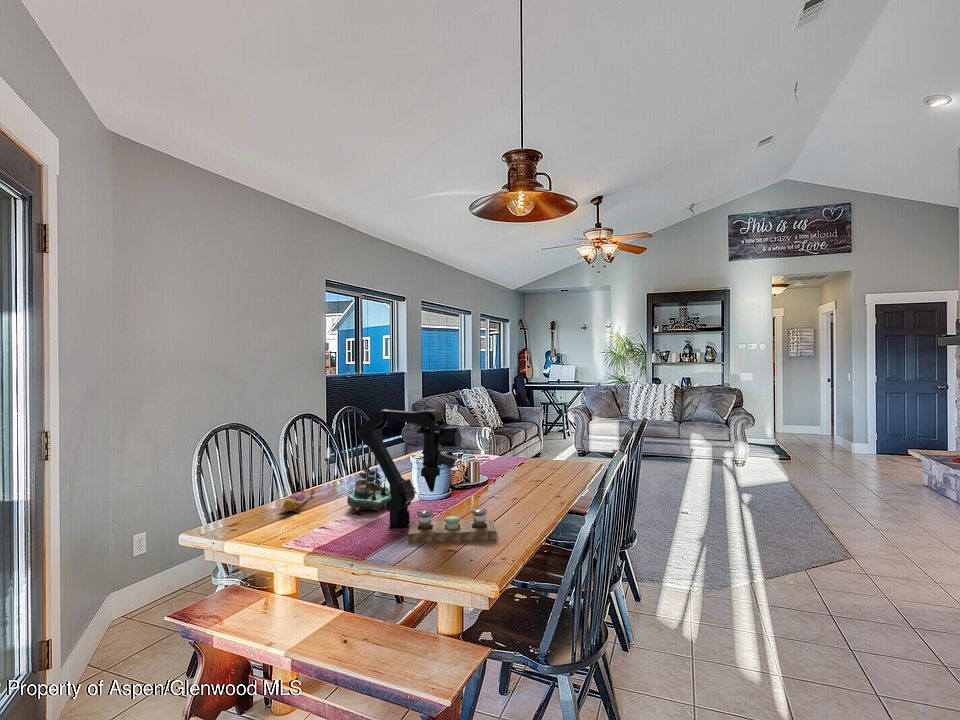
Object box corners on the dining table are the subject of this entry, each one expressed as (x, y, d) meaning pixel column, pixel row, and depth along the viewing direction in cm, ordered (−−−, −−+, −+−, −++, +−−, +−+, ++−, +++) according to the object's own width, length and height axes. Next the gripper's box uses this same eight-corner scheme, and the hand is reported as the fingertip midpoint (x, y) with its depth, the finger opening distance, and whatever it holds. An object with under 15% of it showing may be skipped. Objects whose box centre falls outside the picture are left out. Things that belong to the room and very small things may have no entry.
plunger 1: (417, 528, 173) (416, 514, 173) (418, 523, 178) (418, 509, 178) (432, 528, 173) (432, 513, 173) (433, 523, 178) (432, 509, 178)
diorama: (343, 514, 200) (347, 463, 200) (354, 498, 225) (359, 453, 225) (393, 518, 201) (397, 467, 201) (399, 501, 226) (403, 456, 226)
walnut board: (408, 543, 169) (408, 533, 169) (411, 530, 181) (411, 522, 181) (495, 540, 170) (495, 531, 170) (493, 528, 182) (493, 519, 182)
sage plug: (444, 535, 173) (444, 520, 173) (445, 530, 178) (444, 516, 178) (460, 534, 173) (459, 520, 173) (460, 529, 178) (459, 515, 178)
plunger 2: (472, 527, 173) (471, 512, 173) (471, 522, 178) (471, 508, 178) (487, 526, 174) (487, 512, 174) (486, 522, 179) (486, 508, 179)
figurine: (321, 486, 229) (301, 498, 200) (321, 502, 229) (301, 517, 199) (294, 487, 229) (269, 499, 199) (293, 503, 228) (269, 518, 198)
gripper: (454, 450, 174) (455, 497, 174) (454, 441, 192) (455, 484, 192) (420, 451, 173) (421, 498, 173) (424, 442, 192) (424, 485, 192)
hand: (431, 491), depth 183 cm, fingers closed
